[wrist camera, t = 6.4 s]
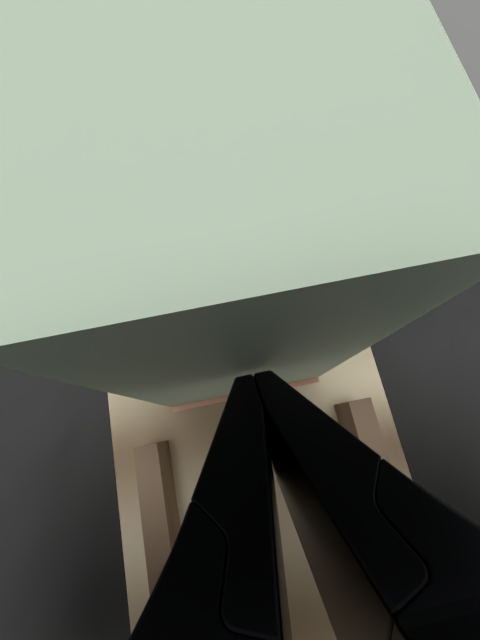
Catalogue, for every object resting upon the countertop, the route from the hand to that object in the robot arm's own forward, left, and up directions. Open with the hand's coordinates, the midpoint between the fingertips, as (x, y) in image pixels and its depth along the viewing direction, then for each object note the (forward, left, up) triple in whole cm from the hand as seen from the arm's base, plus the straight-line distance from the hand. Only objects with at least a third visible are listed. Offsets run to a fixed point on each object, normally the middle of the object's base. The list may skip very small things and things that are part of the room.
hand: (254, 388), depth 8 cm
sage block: (+2, -2, -6) cm, 7 cm away
